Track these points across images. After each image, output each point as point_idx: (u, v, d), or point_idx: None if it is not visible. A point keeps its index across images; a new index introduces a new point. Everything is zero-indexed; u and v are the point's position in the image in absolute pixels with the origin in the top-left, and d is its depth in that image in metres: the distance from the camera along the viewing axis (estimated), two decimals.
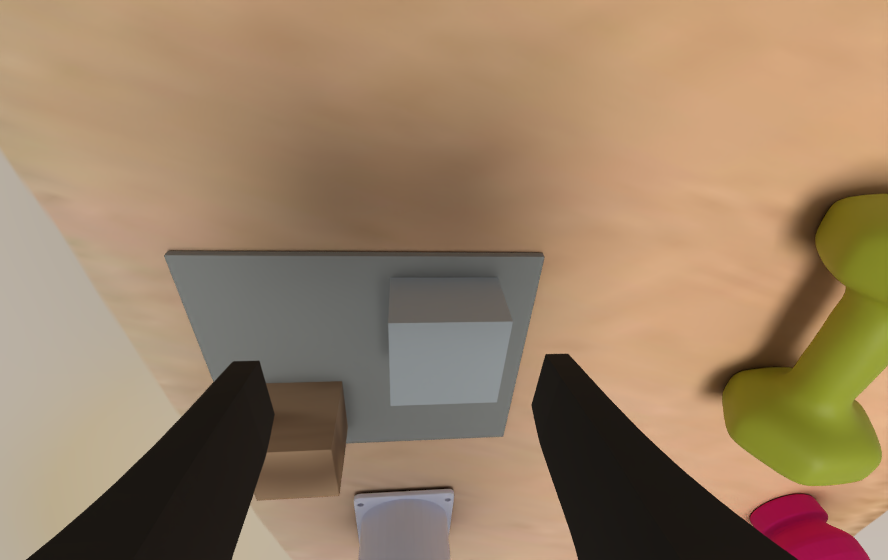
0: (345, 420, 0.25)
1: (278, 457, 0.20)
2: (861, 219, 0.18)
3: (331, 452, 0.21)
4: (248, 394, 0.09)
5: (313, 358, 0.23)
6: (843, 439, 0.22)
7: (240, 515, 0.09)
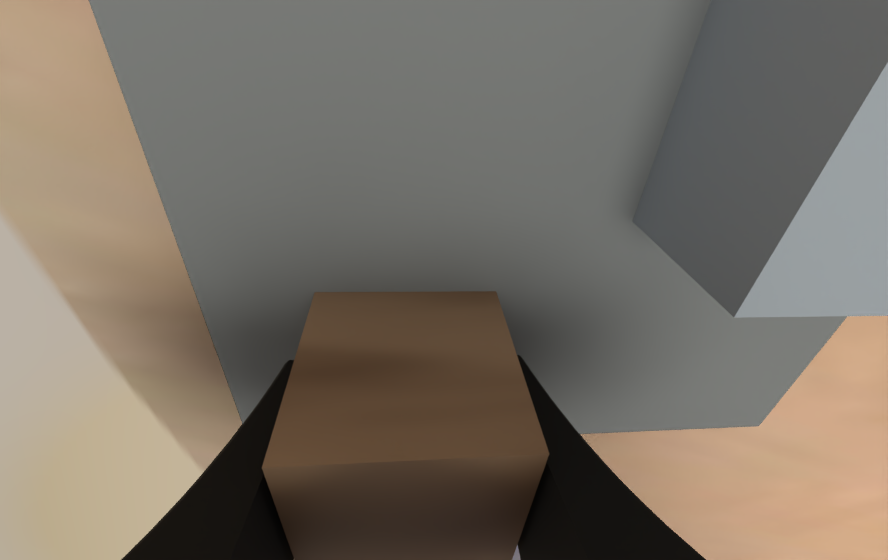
0: None
1: (384, 477, 0.07)
2: None
3: (543, 462, 0.07)
4: None
5: (444, 221, 0.09)
6: None
7: None
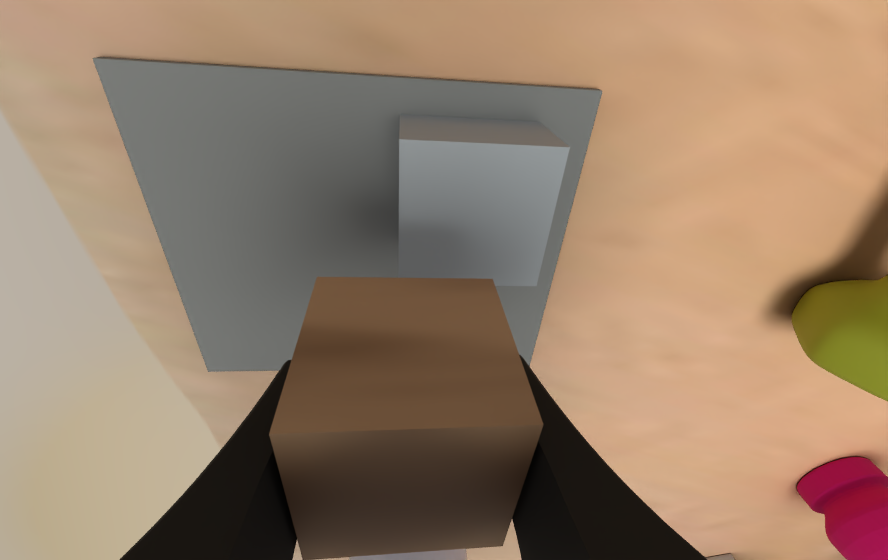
0: None
1: (386, 446, 0.07)
2: None
3: (538, 433, 0.07)
4: None
5: (298, 240, 0.18)
6: None
7: None
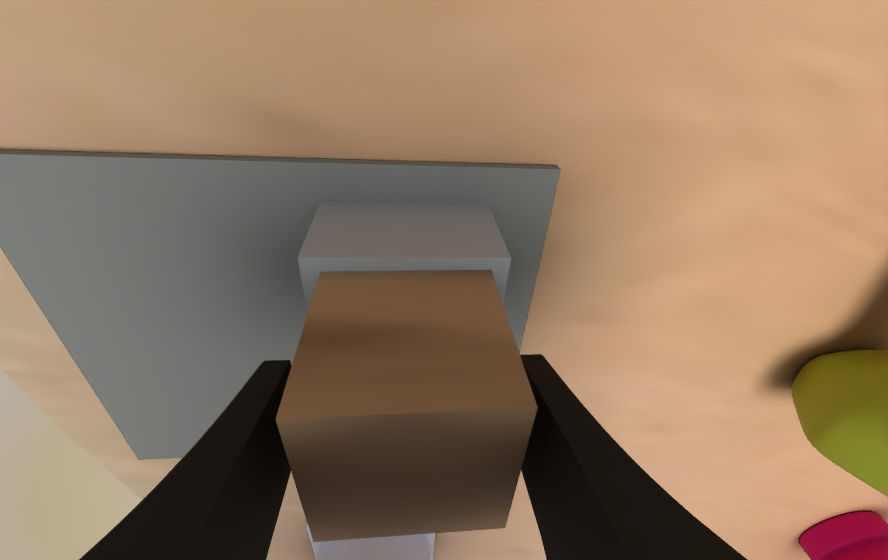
0: None
1: (386, 431, 0.07)
2: None
3: (533, 416, 0.07)
4: (281, 393, 0.09)
5: (220, 332, 0.16)
6: None
7: (274, 513, 0.09)
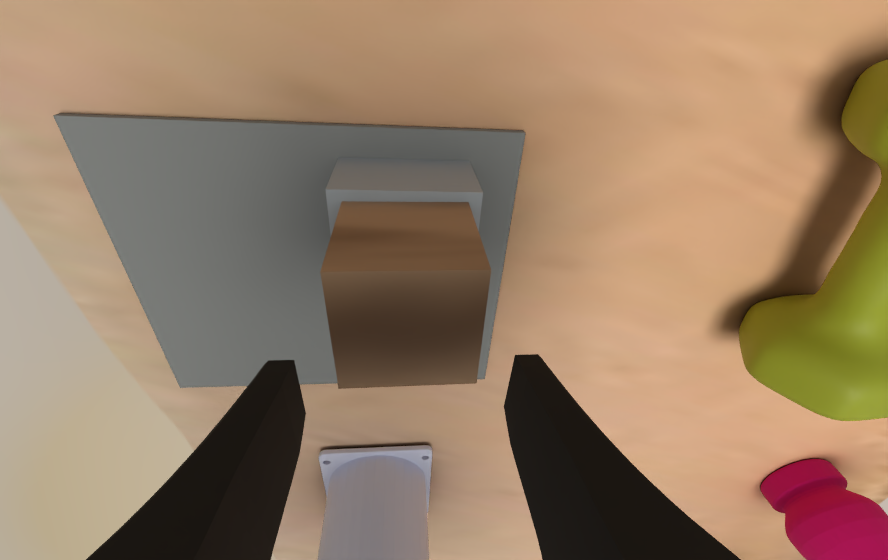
0: None
1: (392, 285, 0.11)
2: None
3: (489, 278, 0.11)
4: (285, 393, 0.09)
5: (255, 269, 0.19)
6: (885, 362, 0.19)
7: (278, 513, 0.09)
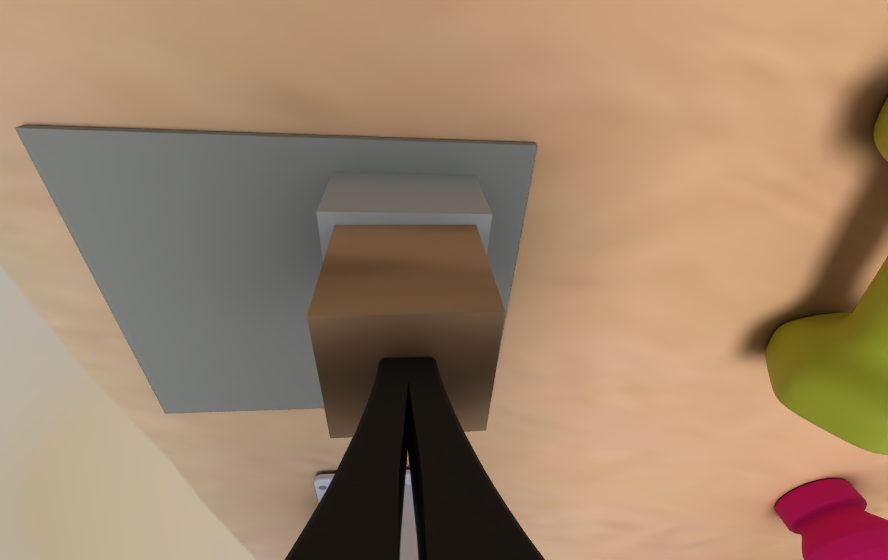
0: None
1: (390, 329, 0.09)
2: None
3: (502, 320, 0.10)
4: (408, 389, 0.09)
5: (243, 291, 0.18)
6: None
7: (403, 505, 0.09)
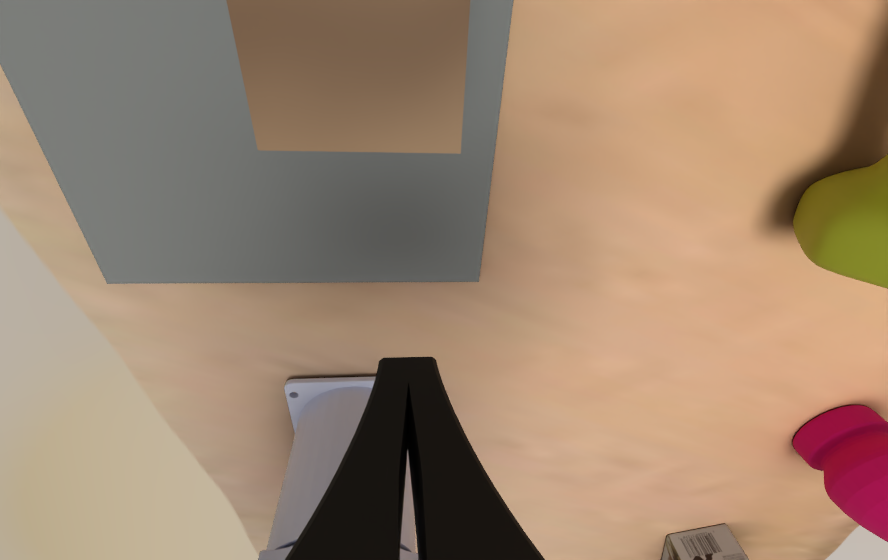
0: None
1: None
2: None
3: None
4: (408, 389, 0.09)
5: (185, 103, 0.15)
6: None
7: (403, 505, 0.09)
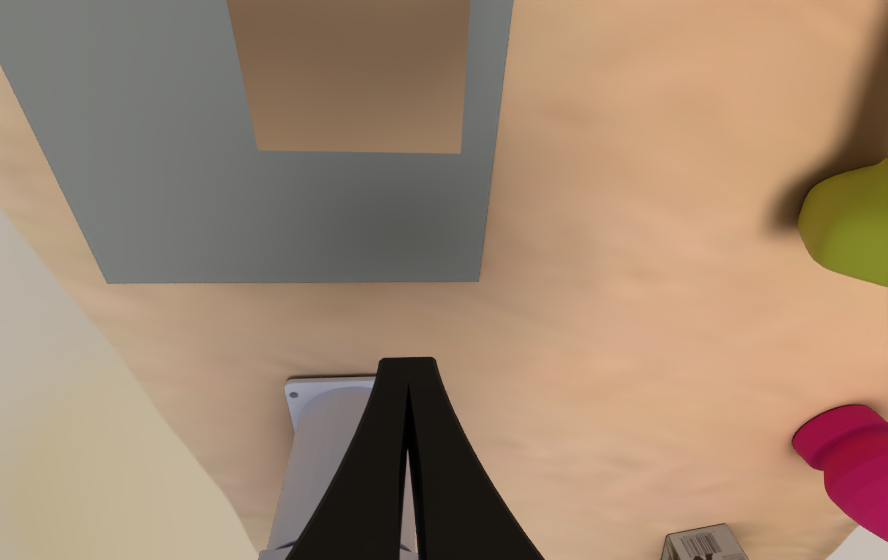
0: None
1: None
2: None
3: None
4: (408, 389, 0.09)
5: (185, 103, 0.15)
6: None
7: (403, 505, 0.09)
